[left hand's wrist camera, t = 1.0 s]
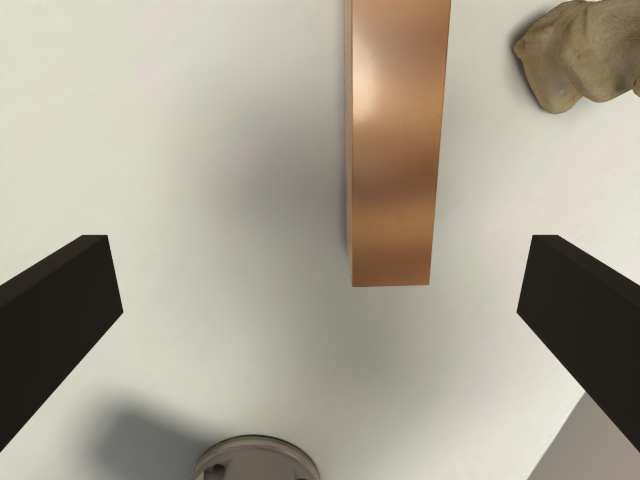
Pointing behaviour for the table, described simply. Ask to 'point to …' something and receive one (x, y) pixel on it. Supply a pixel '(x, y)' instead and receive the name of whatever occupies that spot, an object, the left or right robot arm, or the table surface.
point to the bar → (393, 136)
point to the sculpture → (582, 53)
